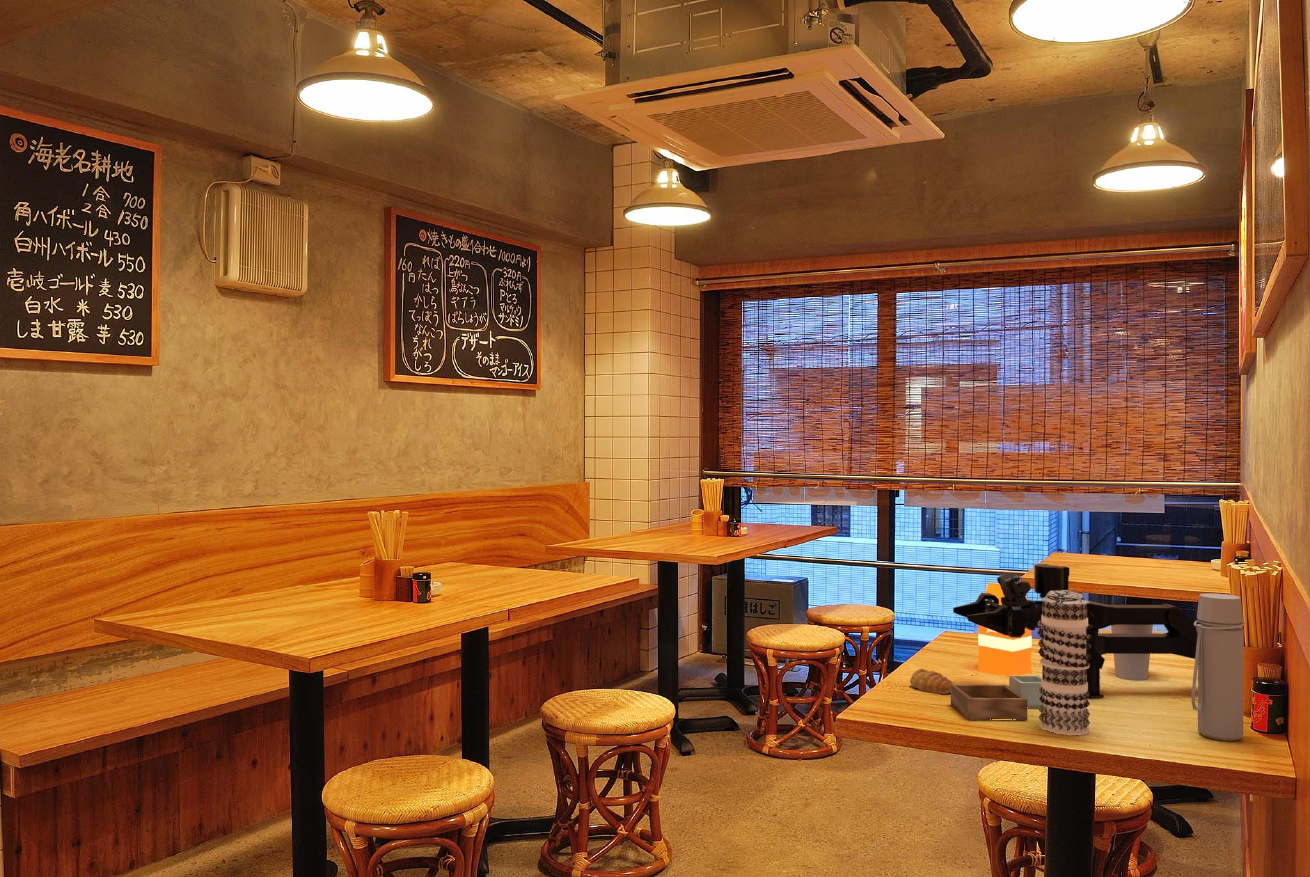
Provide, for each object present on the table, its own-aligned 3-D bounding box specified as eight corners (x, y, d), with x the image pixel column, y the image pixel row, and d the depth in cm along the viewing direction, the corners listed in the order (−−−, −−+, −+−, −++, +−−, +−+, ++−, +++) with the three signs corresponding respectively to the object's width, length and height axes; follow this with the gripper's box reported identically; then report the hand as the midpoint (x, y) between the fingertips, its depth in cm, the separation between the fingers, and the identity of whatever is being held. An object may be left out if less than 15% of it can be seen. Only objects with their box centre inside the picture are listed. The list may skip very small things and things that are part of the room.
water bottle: (1222, 728, 177) (1222, 592, 178) (1255, 742, 170) (1255, 599, 170) (1177, 731, 176) (1177, 593, 176) (1208, 744, 168) (1208, 600, 168)
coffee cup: (1109, 679, 214) (1109, 611, 214) (1106, 670, 223) (1107, 605, 223) (1157, 683, 211) (1157, 614, 211) (1153, 674, 220) (1153, 608, 220)
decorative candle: (1046, 718, 184) (1046, 586, 184) (1098, 727, 178) (1098, 591, 178) (1029, 729, 177) (1030, 592, 177) (1083, 739, 171) (1083, 597, 171)
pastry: (962, 693, 203) (962, 675, 203) (940, 698, 199) (940, 679, 199) (928, 683, 211) (928, 666, 211) (906, 688, 207) (906, 670, 207)
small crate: (1038, 700, 197) (1038, 675, 197) (1050, 708, 191) (1050, 682, 191) (1009, 700, 197) (1009, 675, 197) (1020, 708, 191) (1020, 682, 191)
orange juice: (1013, 678, 215) (1013, 588, 215) (977, 671, 222) (978, 583, 222) (1031, 673, 220) (1032, 585, 220) (996, 666, 227) (997, 580, 227)
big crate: (1005, 704, 193) (1005, 684, 193) (1027, 720, 182) (1027, 699, 182) (950, 704, 193) (950, 684, 193) (969, 720, 182) (969, 699, 182)
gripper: (1018, 569, 211) (946, 569, 211) (1053, 582, 192) (975, 581, 192) (1017, 620, 211) (946, 620, 211) (1053, 638, 192) (975, 638, 192)
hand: (960, 614), depth 202 cm, fingers open, 9 cm apart
